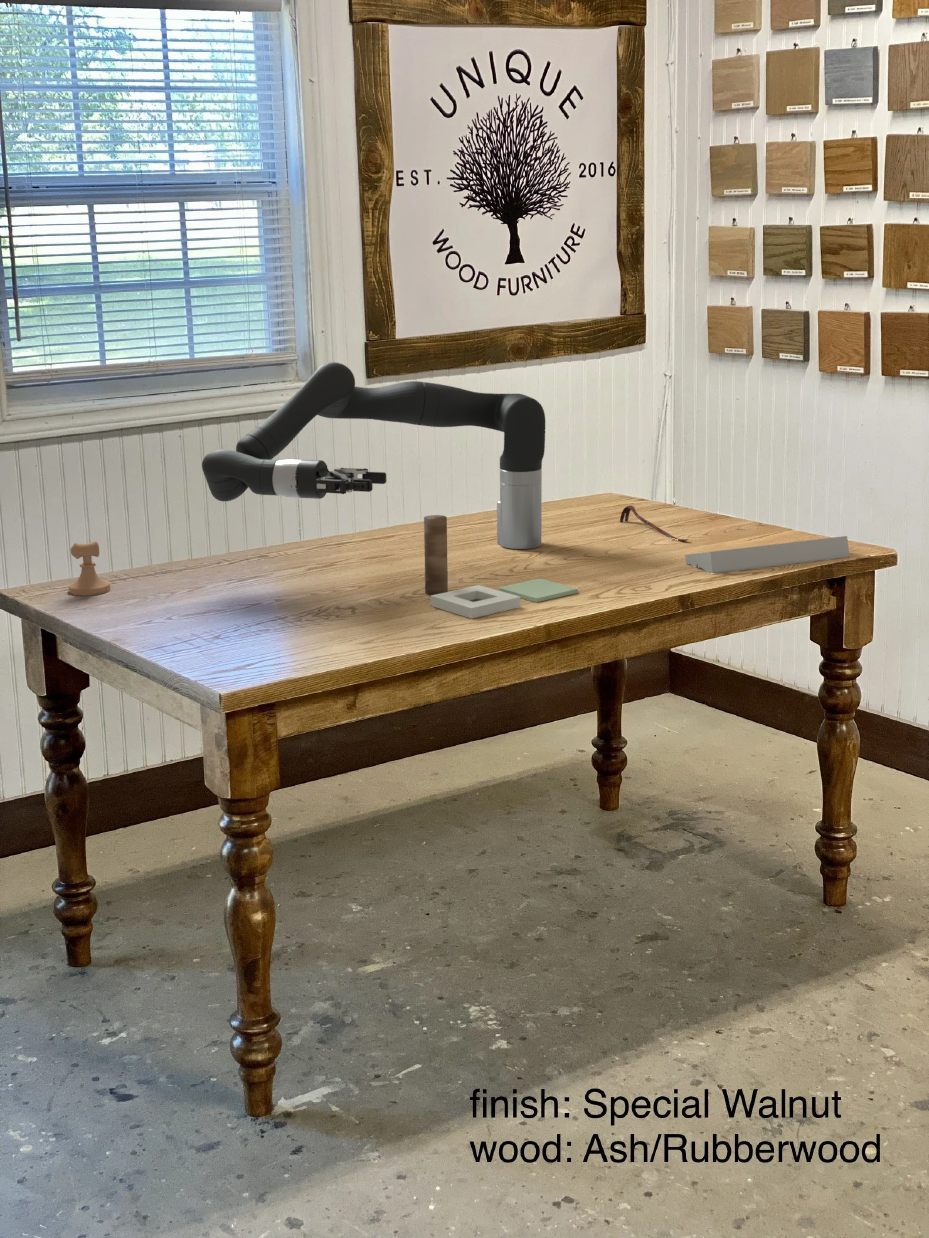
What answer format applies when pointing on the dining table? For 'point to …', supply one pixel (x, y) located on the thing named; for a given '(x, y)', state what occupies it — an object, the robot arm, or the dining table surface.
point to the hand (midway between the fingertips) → (378, 482)
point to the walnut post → (435, 554)
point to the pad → (538, 590)
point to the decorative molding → (770, 555)
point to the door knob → (87, 571)
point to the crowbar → (631, 508)
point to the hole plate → (475, 601)
